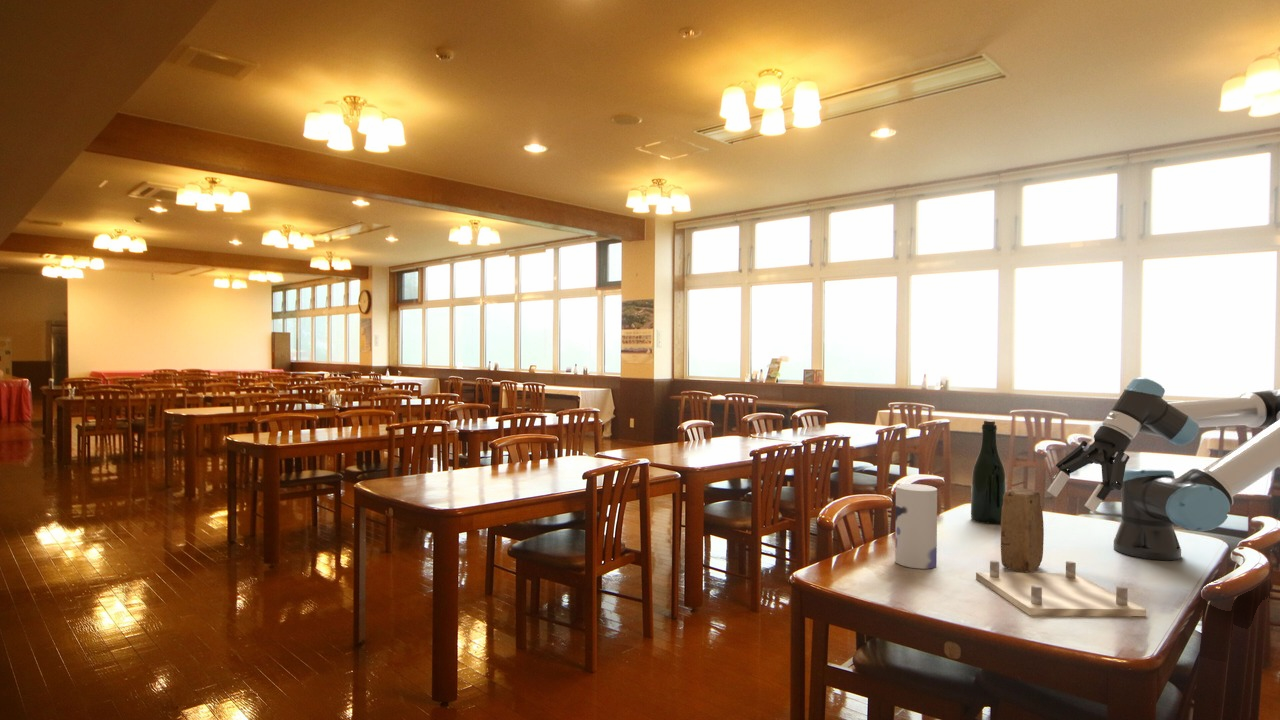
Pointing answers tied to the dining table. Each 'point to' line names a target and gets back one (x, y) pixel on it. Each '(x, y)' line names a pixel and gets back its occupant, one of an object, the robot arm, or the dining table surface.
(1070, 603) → the peg stand
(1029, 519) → the block
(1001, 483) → the beer bottle
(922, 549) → the container
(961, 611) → the dining table surface
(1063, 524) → the dining table surface
